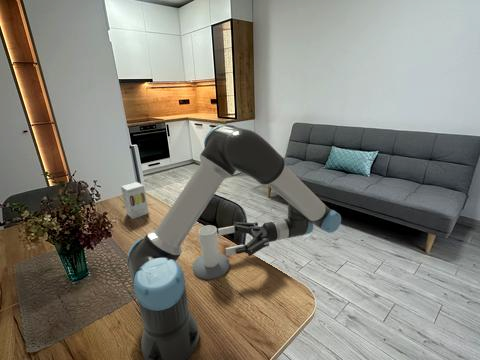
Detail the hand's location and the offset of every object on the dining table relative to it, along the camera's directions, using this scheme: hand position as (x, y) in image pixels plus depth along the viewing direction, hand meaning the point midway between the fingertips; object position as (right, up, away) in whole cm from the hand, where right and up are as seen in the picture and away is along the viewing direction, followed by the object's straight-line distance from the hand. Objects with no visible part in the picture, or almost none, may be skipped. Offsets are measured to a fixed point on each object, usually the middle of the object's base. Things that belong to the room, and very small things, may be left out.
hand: (222, 241), depth 96 cm
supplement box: (-50, +4, +47) cm, 69 cm away
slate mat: (-4, -10, +2) cm, 11 cm away
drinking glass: (-4, -9, +2) cm, 10 cm away
